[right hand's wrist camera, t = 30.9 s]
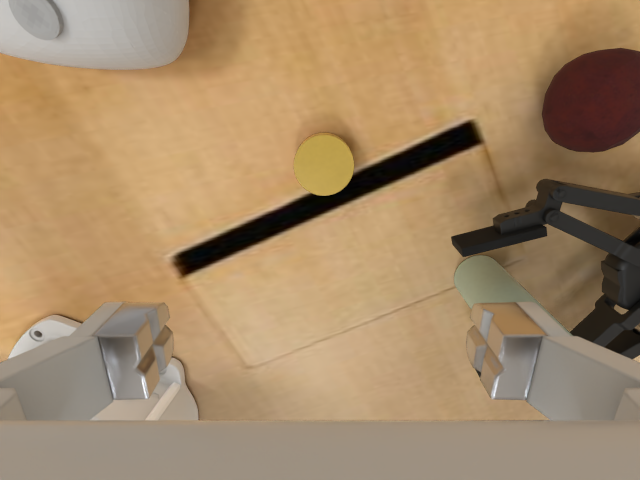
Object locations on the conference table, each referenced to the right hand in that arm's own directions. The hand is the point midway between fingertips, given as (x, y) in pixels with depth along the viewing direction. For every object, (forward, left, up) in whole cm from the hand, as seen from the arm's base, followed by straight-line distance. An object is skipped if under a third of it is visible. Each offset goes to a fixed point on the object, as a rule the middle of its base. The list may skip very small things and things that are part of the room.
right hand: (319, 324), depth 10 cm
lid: (0, 0, -25) cm, 25 cm away
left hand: (+18, -2, -20) cm, 27 cm away
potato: (+14, +17, -26) cm, 34 cm away
